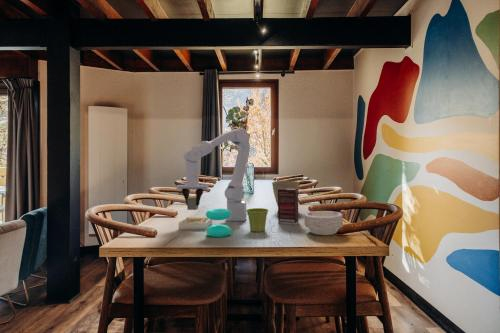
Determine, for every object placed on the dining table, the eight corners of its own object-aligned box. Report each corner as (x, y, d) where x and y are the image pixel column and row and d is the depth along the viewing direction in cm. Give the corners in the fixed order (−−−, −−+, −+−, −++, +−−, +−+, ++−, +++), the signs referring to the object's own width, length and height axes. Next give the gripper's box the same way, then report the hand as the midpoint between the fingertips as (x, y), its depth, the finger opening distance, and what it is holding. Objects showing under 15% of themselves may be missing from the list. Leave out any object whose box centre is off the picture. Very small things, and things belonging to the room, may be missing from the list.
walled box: (212, 223, 162) (211, 217, 161) (206, 229, 150) (206, 222, 149) (186, 223, 163) (186, 217, 163) (178, 229, 151) (178, 222, 151)
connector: (198, 208, 162) (198, 195, 162) (196, 209, 158) (195, 196, 158) (190, 208, 163) (189, 195, 163) (187, 209, 159) (187, 196, 159)
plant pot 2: (281, 208, 202) (281, 180, 202) (304, 210, 194) (304, 181, 193) (267, 211, 190) (266, 182, 189) (291, 214, 182) (291, 184, 181)
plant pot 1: (253, 234, 141) (252, 212, 141) (242, 229, 149) (242, 209, 149) (272, 231, 145) (272, 210, 145) (261, 227, 154) (261, 207, 153)
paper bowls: (301, 229, 149) (300, 210, 148) (336, 228, 150) (336, 209, 149) (309, 238, 134) (309, 217, 133) (348, 237, 135) (348, 216, 134)
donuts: (212, 207, 147) (234, 208, 143) (213, 231, 147) (235, 232, 144) (201, 211, 138) (224, 212, 134) (201, 236, 138) (225, 238, 135)
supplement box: (298, 222, 161) (298, 188, 161) (295, 225, 157) (295, 189, 156) (281, 221, 165) (280, 187, 164) (277, 223, 161) (277, 189, 160)
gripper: (173, 176, 156) (174, 206, 157) (205, 176, 155) (206, 206, 155) (178, 175, 163) (179, 204, 164) (209, 175, 162) (209, 204, 162)
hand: (192, 205), depth 160 cm, fingers closed on connector, 4 cm apart
